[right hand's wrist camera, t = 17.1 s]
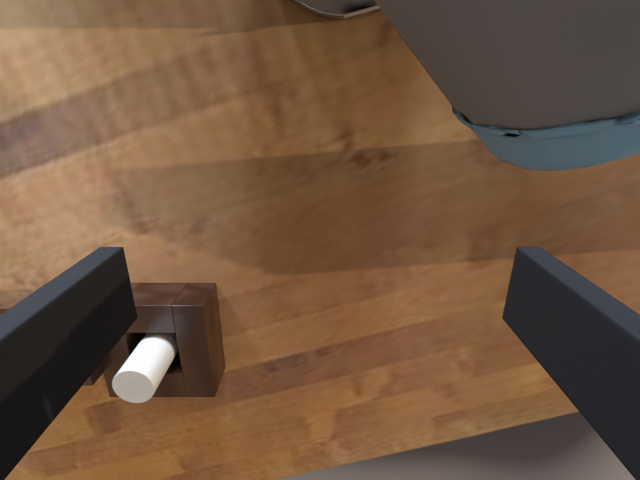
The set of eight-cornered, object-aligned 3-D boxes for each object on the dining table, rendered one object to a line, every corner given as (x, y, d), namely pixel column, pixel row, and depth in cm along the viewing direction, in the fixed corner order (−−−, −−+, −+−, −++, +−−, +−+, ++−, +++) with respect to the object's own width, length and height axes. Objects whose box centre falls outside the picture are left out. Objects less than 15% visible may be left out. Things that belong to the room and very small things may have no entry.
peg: (152, 312, 44) (107, 370, 35) (186, 312, 44) (150, 370, 35) (158, 340, 45) (116, 403, 36) (190, 340, 45) (157, 403, 36)
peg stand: (-28, 367, 47) (-84, 410, 40) (-63, 282, 43) (-132, 316, 36) (225, 367, 47) (210, 410, 40) (215, 282, 43) (197, 316, 36)
